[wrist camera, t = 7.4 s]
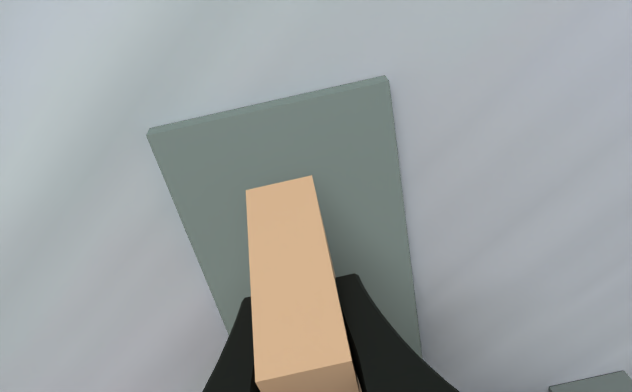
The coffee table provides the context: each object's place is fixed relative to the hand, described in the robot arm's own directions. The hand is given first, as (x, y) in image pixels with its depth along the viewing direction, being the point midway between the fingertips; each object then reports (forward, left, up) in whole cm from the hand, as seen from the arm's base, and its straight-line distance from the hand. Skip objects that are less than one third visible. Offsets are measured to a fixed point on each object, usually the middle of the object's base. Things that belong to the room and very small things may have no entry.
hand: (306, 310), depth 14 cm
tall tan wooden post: (0, +3, -3) cm, 4 cm away
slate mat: (0, +4, -5) cm, 6 cm away
